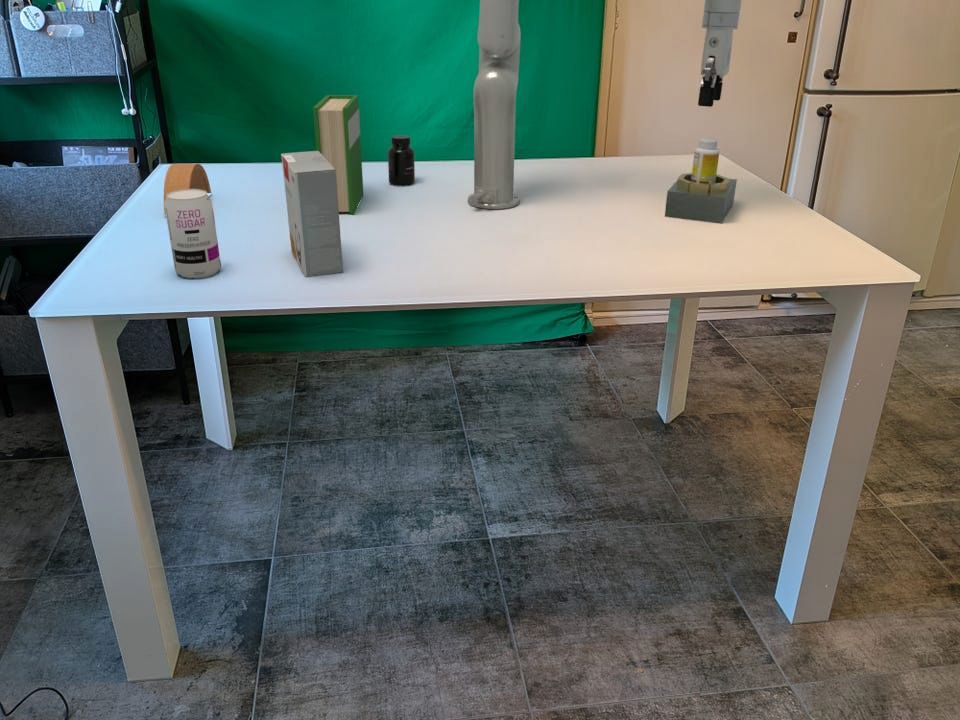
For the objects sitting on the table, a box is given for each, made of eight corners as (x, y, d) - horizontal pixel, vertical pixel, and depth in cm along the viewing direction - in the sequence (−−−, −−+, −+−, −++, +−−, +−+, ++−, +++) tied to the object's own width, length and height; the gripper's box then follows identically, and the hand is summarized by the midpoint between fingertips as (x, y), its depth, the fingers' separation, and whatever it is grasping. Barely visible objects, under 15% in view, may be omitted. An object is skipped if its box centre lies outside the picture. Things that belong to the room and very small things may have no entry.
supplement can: (207, 261, 160) (195, 185, 153) (229, 272, 155) (219, 194, 148) (168, 272, 154) (154, 193, 148) (190, 283, 149) (177, 202, 143)
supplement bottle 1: (413, 186, 212) (412, 139, 207) (387, 186, 212) (385, 139, 207) (416, 180, 218) (414, 134, 213) (390, 179, 218) (388, 134, 213)
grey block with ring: (721, 223, 185) (726, 191, 182) (664, 216, 190) (668, 184, 186) (735, 199, 203) (740, 169, 200) (683, 193, 208) (686, 164, 205)
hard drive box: (290, 252, 165) (280, 152, 156) (328, 248, 168) (320, 150, 159) (304, 278, 152) (294, 171, 143) (344, 273, 155) (337, 167, 146)
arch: (212, 195, 203) (206, 155, 199) (190, 219, 185) (183, 175, 181) (188, 195, 203) (182, 155, 199) (164, 219, 185) (157, 175, 181)
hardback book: (353, 215, 189) (347, 108, 178) (321, 215, 189) (312, 107, 178) (363, 195, 204) (357, 95, 194) (333, 194, 204) (326, 95, 194)
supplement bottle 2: (719, 184, 192) (725, 140, 188) (706, 188, 189) (712, 143, 184) (698, 179, 196) (704, 136, 191) (685, 183, 192) (691, 139, 188)
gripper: (732, 24, 169) (719, 110, 176) (743, 19, 183) (732, 98, 190) (695, 22, 171) (684, 107, 179) (709, 17, 185) (699, 96, 193)
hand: (709, 102), depth 185 cm, fingers open, 9 cm apart
